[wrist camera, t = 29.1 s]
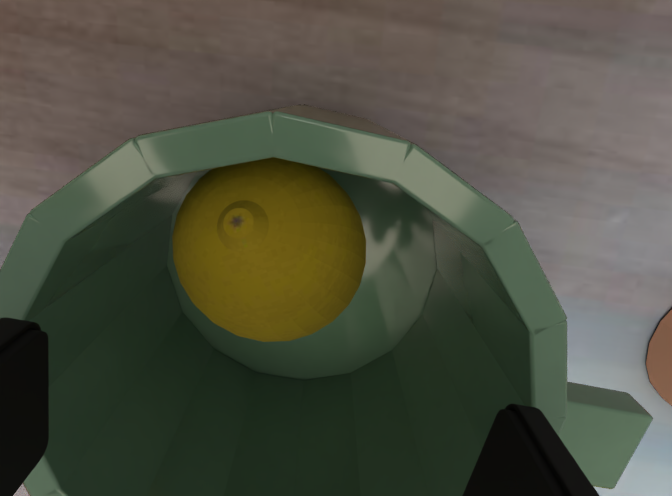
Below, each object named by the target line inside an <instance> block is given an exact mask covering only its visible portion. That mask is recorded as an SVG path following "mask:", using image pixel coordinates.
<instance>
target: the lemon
mask: <svg viewBox="0 0 672 496" xmlns="http://www.w3.org/2000/svg"><path fill="white" fill-rule="evenodd" d="M172 241H173V260H174V264H175V267H176V270H177V274H178V277H179V280H180V283H181V284H182V286H183V288H184V289H185V291H186V293H187V294H188V296H189V298H190V299H191V301H192V302H193V304H194V305H195V306H196V307H197V308H198V309H199V310H200V311H201V312H202V313H203V314H205V315H206V316H207V317H208V318H209V319H210V320H211V321H212V322H213V323H215V324H216V325H218V326H220V327H222V328H224V329H226V330H228V331H229V332H231V333H233V334H235V335H237V336H240V337H245V338H249V339H253V340H258V341H262V342H275V341H291V340H294V339H298V338H301V337H304V336H308V335H311V334H313V333H315V332H316V331H318V330H320V329H321V328H323V327H325V326H326V325H328V324H330V323H331V322H333V321H334V320H335V319H336V318H337V317H338V316H339V315H340V314H341V313H342V312H343V310H344V309H345V308H346V307H347V306H348V305H349V304H350V302H351V300H352V298H353V297H354V295H355V293H356V291H357V290H358V288H359V286H360V283H361V279H362V276H363V272H364V268H365V265H366V237H365V233H364V229H363V225H362V221H361V217H360V215H359V213H358V211H357V209H356V207H355V206H354V204H353V202H352V200H351V198H350V197H349V195H348V194H347V192H346V191H345V190H344V189H343V188H342V187H341V186H340V185H339V184H338V183H337V182H336V181H335V180H334V179H333V178H332V177H331V176H330V175H329V174H327V173H326V172H324V171H323V170H321V169H319V168H318V167H314V166H310V165H305V164H301V163H296V162H292V161H287V160H282V159H278V158H269V159H264V160H258V161H253V162H247V163H242V164H236V165H231V166H225V167H220V168H215V169H212V170H210V171H209V172H208V173H206V174H205V175H204V176H202V177H201V178H200V179H199V180H198V181H197V183H196V184H195V185H194V186H193V188H192V189H191V190H190V191H189V192H188V194H187V195H186V197H185V199H184V201H183V203H182V205H181V207H180V209H179V211H178V214H177V217H176V221H175V226H174V231H173V235H172Z"/></svg>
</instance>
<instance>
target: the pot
mask: <svg viewBox="0 0 672 496" xmlns="http://www.w3.org/2000/svg"><path fill="white" fill-rule="evenodd" d="M269 158H278V159H282V160H287V161H292V162H296V163H301V164H305V165H310V166H314V167H318V168H319V169H321V170H323V171H324V172H326V173H327V174H329V175H330V176H331V177H332V178H333V179H334V180H335V181H336V182H337V183H338V184H339V185H340V186H341V187H342V188H343V189H344V190H345V191H346V192H347V194H348V195H349V197H350V198H351V200H352V202H353V204H354V206H355V207H356V209H357V211H358V213H359V215H360V217H361V221H362V225H363V229H364V233H365V237H366V265H365V268H364V272H363V276H362V279H361V283H360V286H359V288H358V290H357V291H356V293H355V295H354V297H353V298H352V300H351V302H350V304H349V305H348V306H347V307H346V308H345V309H344V310H343V312H342V313H341V314H340V315H339V316H338V317H337V318H336V319H335V320H334V321H333V322H331V323H330V324H328V325H326V326H325V327H323V328H321V329H320V330H318V331H316V332H315V333H313V334H311V335H308V336H304V337H301V338H298V339H294V340H291V341H275V342H262V341H258V340H253V339H249V338H245V337H240V336H237V335H235V334H233V333H231V332H229V331H228V330H226V329H224V328H222V327H220V326H218V325H216V324H215V323H213V322H212V321H211V320H210V319H209V318H208V317H207V316H206V315H205V314H203V313H202V312H201V311H200V310H199V309H198V308H197V307H196V306H195V305H194V304H193V302H192V301H191V299H190V298H189V296H188V294H187V293H186V291H185V289H184V288H183V286H182V284H181V283H180V280H179V277H178V274H177V270H176V267H175V264H174V260H173V241H172V235H173V231H174V226H175V221H176V217H177V214H178V211H179V209H180V207H181V205H182V203H183V201H184V199H185V197H186V195H187V194H188V192H189V191H190V190H191V189H192V188H193V186H194V185H195V184H196V183H197V181H198V180H199V179H200V178H201V177H202V176H204V175H205V174H206V173H208V172H209V171H210V170H212V169H215V168H220V167H225V166H231V165H236V164H242V163H247V162H253V161H258V160H264V159H269ZM5 317H7V318H13V319H19V320H25V321H31V322H36V323H38V324H39V326H40V327H41V331H43V332H46V333H47V335H48V365H49V440H48V445H47V448H46V451H45V453H44V455H43V457H42V458H41V460H40V461H39V462H38V464H37V465H36V466H35V468H34V469H33V470H32V472H31V473H30V474H29V475H28V477H27V478H26V479H25V481H24V482H23V484H24V486H25V488H26V490H27V492H28V494H29V495H30V496H462V495H463V493H464V491H465V488H466V486H467V484H468V481H469V479H470V476H471V474H472V472H473V469H474V467H475V465H476V462H477V460H478V457H479V455H480V453H481V450H482V448H483V446H484V443H485V441H486V438H487V436H488V434H489V431H490V429H491V427H492V424H493V422H494V419H495V417H496V415H497V413H498V411H499V410H501V409H505V408H506V406H508V405H509V404H518V405H524V406H530V407H536V408H538V409H540V410H541V411H542V413H543V414H544V415H545V417H546V418H547V420H548V421H549V423H550V424H551V426H552V427H553V429H554V430H555V432H556V433H557V435H558V436H559V437H560V439H561V440H562V442H563V443H564V445H565V446H566V448H567V449H568V451H569V452H570V454H571V455H572V457H573V458H574V459H575V461H576V462H577V464H578V465H579V467H580V468H581V470H582V471H583V473H584V474H585V476H586V477H587V479H588V480H589V481H590V483H591V484H592V486H596V487H602V488H608V489H613V488H615V486H616V484H617V482H618V480H619V479H620V477H621V475H622V473H623V471H624V470H625V468H626V466H627V464H628V463H629V461H630V459H631V457H632V455H633V454H634V452H635V450H636V448H637V447H638V445H639V443H640V441H641V439H642V438H643V436H644V434H645V432H646V430H647V429H648V427H649V425H650V423H651V422H652V419H653V418H652V416H651V415H650V414H649V413H648V412H647V411H646V410H645V409H644V408H643V407H642V406H641V405H640V404H639V403H638V402H637V401H636V400H635V399H634V398H633V397H632V396H631V395H630V394H628V393H626V392H621V391H615V390H610V389H604V388H599V387H594V386H588V385H583V384H577V383H572V382H567V321H566V319H567V317H566V315H565V313H564V311H563V309H562V307H561V305H560V303H559V301H558V299H557V297H556V295H555V293H554V291H553V289H552V287H551V285H550V284H549V282H548V280H547V278H546V276H545V274H544V272H543V270H542V268H541V266H540V264H539V262H538V260H537V258H536V256H535V254H534V253H533V251H532V249H531V247H530V245H529V243H528V241H527V239H526V237H525V235H524V233H523V231H522V229H521V227H520V225H519V224H518V222H517V221H516V220H514V219H513V217H512V216H511V215H510V214H508V213H507V212H506V211H504V210H503V209H502V208H500V207H499V206H498V205H496V204H495V203H494V202H492V201H491V200H490V199H488V198H487V197H486V196H484V195H483V194H482V193H480V192H479V191H478V190H476V189H475V188H474V187H472V186H471V185H470V184H468V183H467V182H466V181H464V180H463V179H462V178H460V177H459V176H457V175H456V174H455V173H453V172H452V171H451V170H449V169H448V168H447V167H445V166H444V165H443V164H441V163H440V162H439V161H437V160H436V159H435V158H433V157H432V156H431V155H429V154H428V153H427V152H425V151H424V150H423V149H421V148H420V147H419V146H417V145H416V144H414V143H412V142H410V141H408V140H406V139H405V138H403V137H401V136H399V135H397V134H395V133H393V132H391V131H389V130H387V129H386V128H384V127H382V126H380V125H378V124H376V123H374V122H372V121H370V120H368V119H366V118H361V117H357V116H353V115H348V114H344V113H340V112H336V111H331V110H327V109H322V108H318V107H314V106H309V105H305V104H304V105H300V104H299V105H294V106H288V107H283V108H278V109H272V110H267V111H262V112H256V113H251V114H246V115H240V116H235V117H230V118H225V119H220V120H214V121H209V122H204V123H199V124H194V125H189V126H183V127H178V128H173V129H168V130H163V131H157V132H152V133H147V134H142V135H138V136H137V137H134V138H130V139H128V140H127V141H125V142H124V143H123V144H121V145H120V146H119V147H117V148H116V149H114V150H113V151H112V152H110V153H109V154H108V155H106V156H105V157H103V158H102V159H101V160H99V161H98V162H97V163H95V164H94V165H92V166H91V167H90V168H88V169H87V170H86V171H84V172H83V173H81V174H80V175H79V176H77V177H76V178H74V179H73V180H72V181H70V182H69V183H68V184H66V185H65V186H63V187H62V188H61V189H59V190H58V191H57V192H55V193H54V194H52V195H51V196H50V197H48V198H47V199H46V200H44V201H43V202H41V203H40V204H39V205H37V206H36V207H35V208H33V209H32V210H31V211H30V213H28V214H27V216H26V218H25V220H24V222H23V224H22V226H21V228H20V230H19V232H18V234H17V236H16V238H15V240H14V243H13V245H12V247H11V249H10V251H9V253H8V255H7V257H6V259H5V261H4V263H3V265H2V267H1V269H0V319H1V318H5Z"/></svg>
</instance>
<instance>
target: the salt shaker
mask: <svg viewBox="0 0 672 496" xmlns="http://www.w3.org/2000/svg"><path fill="white" fill-rule="evenodd" d="M646 366H647V370H648V375H649V379H650V383H651V384H652V385H653V387H654V388H655V389H656V390H657V392H658V393H659V394H660V396H661V397H662V398H663V399H664V400H665V401H667V402H668V403H669V404H670V405H671V406H672V310H671V311H670V312H669V313H668V314H667V315H666V316H665V317H664V318H663V319H662V320H661V321H660V323H659V325H658V327H657V329H656V331H655V333H654V335H653V337H652V339H651V341H650V343H649V348H648V354H647V360H646Z"/></svg>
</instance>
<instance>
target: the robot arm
mask: <svg viewBox="0 0 672 496" xmlns="http://www.w3.org/2000/svg"><path fill="white" fill-rule="evenodd" d="M48 440H49V365H48V335H47V333H46V332H43V331H41V327H40V326H39V324H38V323H36V322H31V321H25V320H19V319H13V318H7V317H5V318H1V319H0V496H13V495H14V493H15V492H16V491H17V490H18V488H19V487H20V486H21V484H22V483H23V482H24V481H25V479H26V478H27V477H28V475H29V474H30V473H31V472H32V470H33V469H34V468H35V466H36V465H37V464H38V462H39V461H40V460H41V458H42V457H43V455H44V453H45V451H46V448H47V445H48ZM462 496H599V495H598V493H597V492H596V490H595V489H594V487H593V486H592V484H591V483H590V481H589V480H588V479H587V477H586V476H585V474H584V473H583V471H582V470H581V468H580V467H579V465H578V464H577V462H576V461H575V459H574V458H573V457H572V455H571V454H570V452H569V451H568V449H567V448H566V446H565V445H564V443H563V442H562V440H561V439H560V437H559V436H558V435H557V433H556V432H555V430H554V429H553V427H552V426H551V424H550V423H549V421H548V420H547V418H546V417H545V415H544V414H543V413H542V411H541V410H540V409H538V408H536V407H530V406H524V405H518V404H509V405H508V406H506V408H505V409H501V410H499V411H498V413H497V415H496V417H495V419H494V422H493V424H492V427H491V429H490V431H489V434H488V436H487V438H486V441H485V443H484V446H483V448H482V450H481V453H480V455H479V457H478V460H477V462H476V465H475V467H474V469H473V472H472V474H471V476H470V479H469V481H468V484H467V486H466V488H465V491H464V493H463V495H462Z"/></svg>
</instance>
